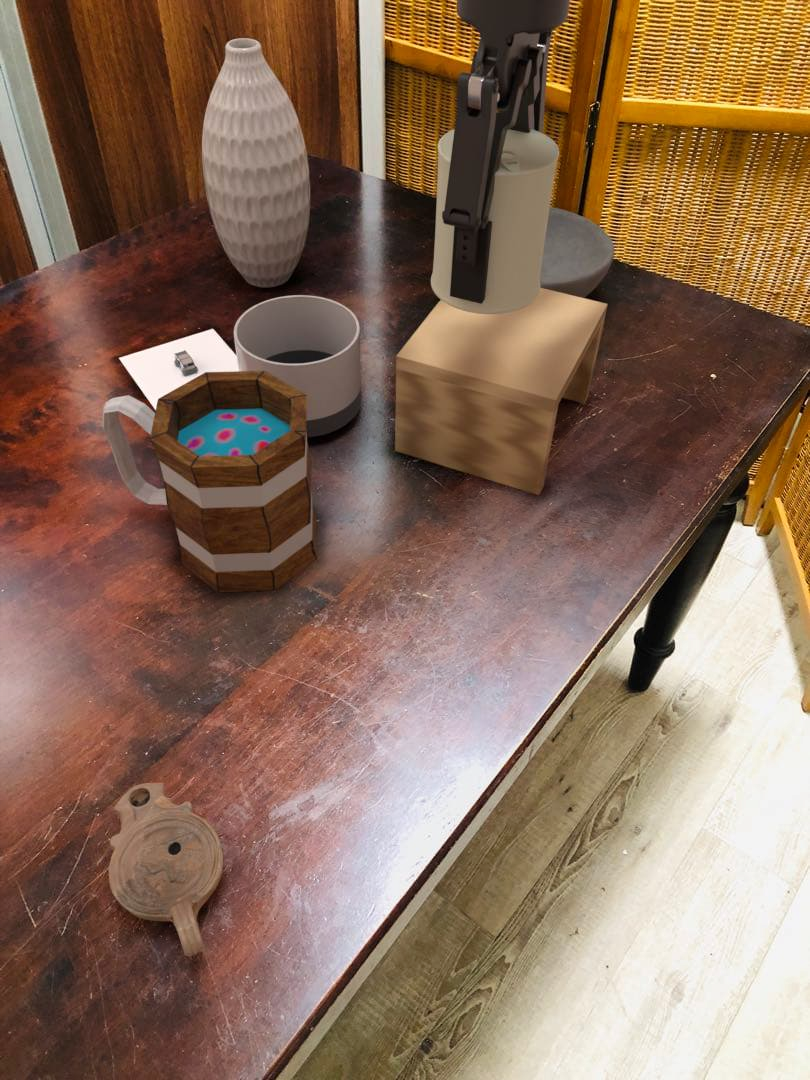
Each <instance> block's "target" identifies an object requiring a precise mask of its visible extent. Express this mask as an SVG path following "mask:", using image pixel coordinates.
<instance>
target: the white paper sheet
mask: <svg viewBox="0 0 810 1080" xmlns="http://www.w3.org/2000/svg"><path fill="white" fill-rule="evenodd" d="M118 359H119V360H120V362H121V364H122V365H123V367H124V368H125V369H126V371H127V372H128V374H129V375H130V376H131V378H132V379H133V381H134V382H135V384H136V385H137V386H138V387H139V389H140V390H141V392H142V394H143V395H144V397H146V399H147V400H148V402H149V403H150V405H151V406H152V407H153V409H154V410H155V411H156V406H157V401H158V399H159V398H161V397H162V396H164V395H166V394H168V393H170V392H171V391H173V390H175V389H177V388H178V387H180V386H182V385H184V384H186V383H187V382H189V381H191V380H193V379H195V378H196V377H198V376H200V375H202V374H203V373H205V372H235V371H239V368H238V361H237V354H236V353H235V352H234V351H233V350H232V348H230V346H229V345H228V344H227V343H226V342H225V340H223V338H222V337H221V336H220V335H219V333H217V331H216V330H215V329H214V328H210V329H207V330H204V331H201V332H198V333H194V334H191V335H188V336H185V337H181V338H178V339H175V340H172V341H168V342H166V343H162V344H158V345H156V346H153V347H150V348H146V349H143V350H140V351H137V352H133V353H130V354H128V355H124V356H121V357H118Z"/></svg>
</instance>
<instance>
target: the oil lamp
mask: <svg viewBox="0 0 810 1080" xmlns="http://www.w3.org/2000/svg"><path fill="white" fill-rule="evenodd" d="M165 787H166V785H165V782H145V783H139V784H136V785H134V786H132V787H131V788H129V789H128V790H127V791H126V792H125V793H124V794H123V795H122V796H121V798H120V799H119V800H118V802H117V803H116V804H115V805H114V806H113V808H112V809H113V812H114V813H116V815H118V817H119V820H120V831H119V833H116V834H114V835H113V836H112V837H111V838H110V839H109V843H110V847H111V848H113V849H114V850H113V852H112V854H111V856H110V861H109V865H108V880H109V887H110V890H111V892H112V894H113V896H114V898H115V899H116V900H117V902H118V903H119V904H120V905H121V906H122V907H123V908H124V909H125V910H126V911H128V912H129V913H130V914H132V915H133V916H135V917H137V918H138V919H142V920H146V921H154V922H171V923H172V924H173V926H174V928H175V929H176V932H177V935H178V937H179V941H180V944H181V948H182V951H183V954H184V956H185V957H189V958H190V957H192V956H193V955H197V954H198V953H199V952H201V953H202V952H203V951H205V943H204V940H203V937H202V934H201V931H200V927H199V922H198V919H197V918H198V915H199V911H200V909H201V908H202V907H203V905H205V903H206V902H207V901H209V899H210V897H211V896H212V894H213V893H214V891H215V890H216V888H217V887H218V885H219V883H220V881H221V878H222V874H223V869H224V851H223V847H222V842H221V839H220V837H219V835H218V833H217V832H216V829H215V828H214V827H213V826H212V825H211V823H210V822H208V821H207V820H206V819H204V818H203V817H202V816H200V815H198V814H195V813H194V810H193V809H194V808H193V805H192V803H191V802H190V801H188V800H187V801H184V802H182V804H175V803H173V802H172V801H171V800H170V799H169V798H168V796H166V793H165Z"/></svg>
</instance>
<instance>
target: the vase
mask: <svg viewBox="0 0 810 1080" xmlns="http://www.w3.org/2000/svg"><path fill="white" fill-rule="evenodd" d="M262 48H263V47H262V44H261V43H260V42H259V41H258V40H256V39H253V38H248V37H247V38H245V37H242V38H241V37H239V38H235V39H231V40H229V41H228V42H226V44H225V47H224V49H225V56H224V61H223V63H222V66H221V68H220V71H219V72H218V75H217V77H216V80H215V82H214V85H213V87H212V89H211V92H210V95H209V98H208V100H207V105H206V108H205V112H204V116H203V117H204V118H203V122H202V123H203V125H202V132H201V162H202V171H203V180H204V185H205V186H204V188H205V194H206V199H207V200H206V201H207V204H208V209H209V213H210V216H211V220H212V223H213V227H214V230H215V232H216V235H217V237H218V239H219V241H220V244H221V246H222V248H223V250H224V253H225V254H226V256H227V257H228V259H229V261H230V263H231V264H232V266H233V267H234V268H235V269H236V271H238V273H239V274H240V276H241V277H242V278H243V280H245V282H247V283H248V284H249V285H251V286H254V287H257V288H263V289H265V288H267V289H269V288H276V287H279V286H281V285H284V284H285V283H287V282H288V281H289V280H290V278H291V277H292V275H293V273H294V271H295V270H296V267H297V265H298V264H299V262H300V259H301V257H302V254H303V251H304V248H305V246H306V245H305V244H306V241H307V237H308V231H309V223H310V212H311V180H310V179H311V178H310V168H309V160H308V152H307V147H306V142H305V137H304V133H303V130H302V127H301V123H300V120H299V117H298V114H297V112H296V109H295V107H294V105H293V102H292V101H291V99H290V96H289V94H288V93H287V91H286V89H285V88H284V87H283V85H282V83H281V82H280V80H279V79H278V77H277V76H276V75H275V73H274V71H273V70H272V68H271V67H270V65H269V64H268V62H267V61H266V59H265V57H264V54H263V49H262Z"/></svg>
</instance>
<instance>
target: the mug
mask: <svg viewBox="0 0 810 1080" xmlns="http://www.w3.org/2000/svg"><path fill="white" fill-rule="evenodd" d="M306 407H307V395H306V394H304V393H302V392H300V391H299V390H297V389H295V388H294V387H292V386H290V385H289V384H287V383H285V382H284V381H282V380H280V379H278V378H277V377H275V376H273V375H272V374H270V373H268V372H267V371H235V372H205V373H203V374H202V375H200V376H198V377H196V378H195V379H193V380H191V381H189V382H187V383H186V384H184V385H182V386H180V387H178V388H177V389H175V390H173V391H171V392H170V393H168V394H166V395H164V396H162V397H161V398H159V399H158V401H157V406H156V410H155V412H154V410H153V409H151V408H150V407H149V406H148V404H146V403H144V402H142V401H140V400H139V399H137V398H135V397H134V396H131V395H129V394H128V395H123V396H117V397H111V399H109V400H107V401H106V402H105V404H104V405H103V407H102V418H101V419H102V421H101V426H102V429H103V432H104V434H105V435H106V436H105V437H106V439H107V441H108V444H109V446H110V448H111V451H112V454H113V457H114V461H115V463H116V467H117V469H118V472H119V474H120V477H121V480H122V482H123V484H124V485H125V486H126V488H127V489H128V490H129V492H130V493H131V494H132V496H133V497H134V498H136V499H138V500H140V501H142V502H144V503H145V504H147V505H151V506H152V505H153V506H167V509H168V511H169V515H170V516H171V519H172V521H173V524H174V527H175V530H176V534H177V537H178V543H179V549H180V563H181V565H182V566H184V568H186V569H187V570H189V571H190V572H192V573H193V574H194V575H195V576H196V577H198V578H199V579H200V580H201V581H203V582H204V583H206V584H207V585H208V586H209V587H211V589H213V590H214V591H215V592H217V593H237V592H238V593H240V592H259V591H260V592H263V591H265V592H266V591H277V590H278V589H280V588H281V587H282V586H283V585H285V584H286V583H287V582H288V581H290V580H291V579H293V578H294V577H295V576H296V575H297V574H299V573H300V572H302V571H303V570H304V569H305V568H307V567H308V566H309V565H310V564H312V563H314V561H316V560H317V556H318V555H317V554H318V541H317V540H318V519H317V514H316V511H315V507H314V502H313V491H312V467H313V466H312V456H311V452H310V447H309V442H308V438H307V434H306ZM120 413H121V414H123V415H125V416H127V417H128V418H130V419H131V420H133V421H134V422H136V423H137V424H138V426H139V427H141V428H142V429H143V430H144V431H145V432H146V433H147V434H149V435H150V436H149V440H150V442H151V445H152V447H153V450H154V452H155V454H156V457H157V459H158V462H159V465H160V466H159V467H160V470H161V473H162V478H163V483H164V488H158V487H156V486H154V485H152V484H150V483H149V482H146V480H145V478H144V477H143V476H142V475H141V473H140V472H139V470H138V467H137V464H136V462H135V458H134V454H133V452H132V448H131V444H130V441H129V439H128V436H127V434H126V432H125V429H124V426H123V425H122V422H121V420H120Z"/></svg>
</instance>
